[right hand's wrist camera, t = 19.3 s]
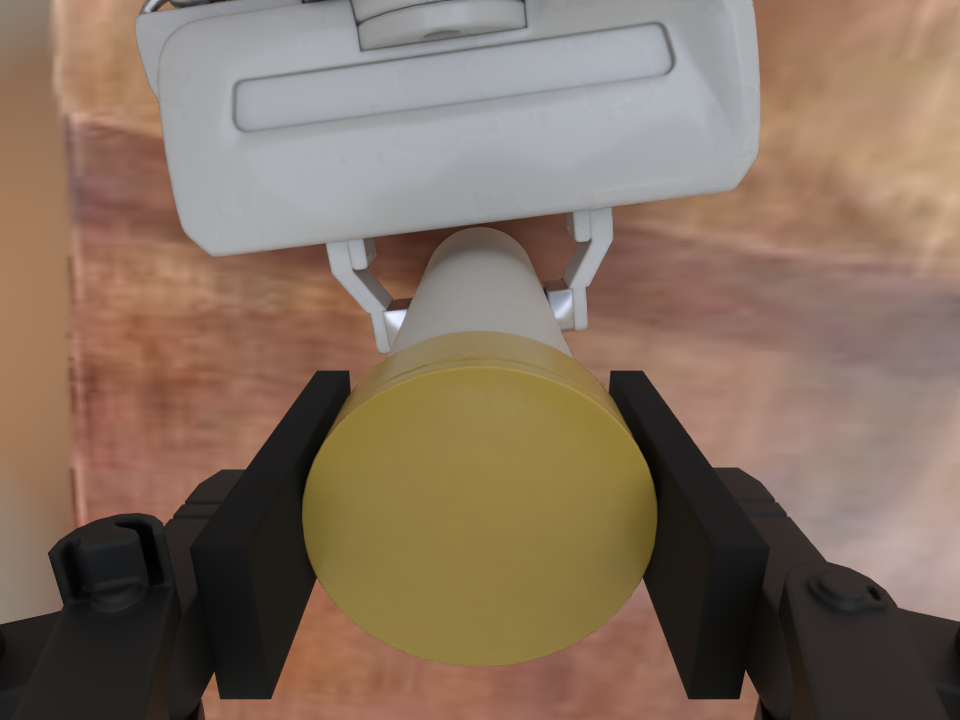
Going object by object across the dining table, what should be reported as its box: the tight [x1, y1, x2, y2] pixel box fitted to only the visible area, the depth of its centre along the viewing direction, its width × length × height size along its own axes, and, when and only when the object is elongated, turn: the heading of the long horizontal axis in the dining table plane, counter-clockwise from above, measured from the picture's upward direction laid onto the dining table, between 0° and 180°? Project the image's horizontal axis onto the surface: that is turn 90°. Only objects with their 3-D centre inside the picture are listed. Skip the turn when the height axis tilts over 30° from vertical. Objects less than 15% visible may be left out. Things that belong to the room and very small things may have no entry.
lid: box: [302, 331, 658, 667], centre depth 11 cm, size 6×6×2 cm
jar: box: [386, 227, 573, 359], centre depth 20 cm, size 5×5×20 cm
